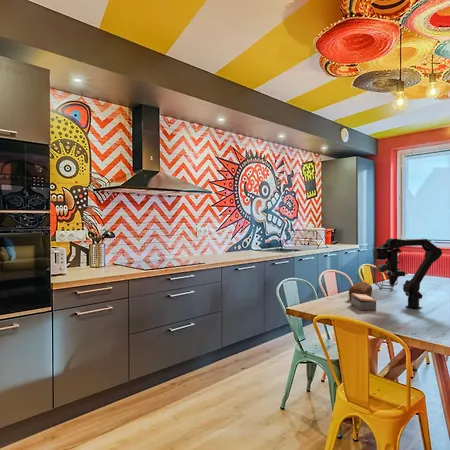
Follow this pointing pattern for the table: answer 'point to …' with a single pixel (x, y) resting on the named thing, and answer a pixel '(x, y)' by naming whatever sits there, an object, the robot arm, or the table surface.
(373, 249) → the geometric lantern
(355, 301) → the storage box
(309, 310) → the table surface
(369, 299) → the lid
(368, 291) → the bread
